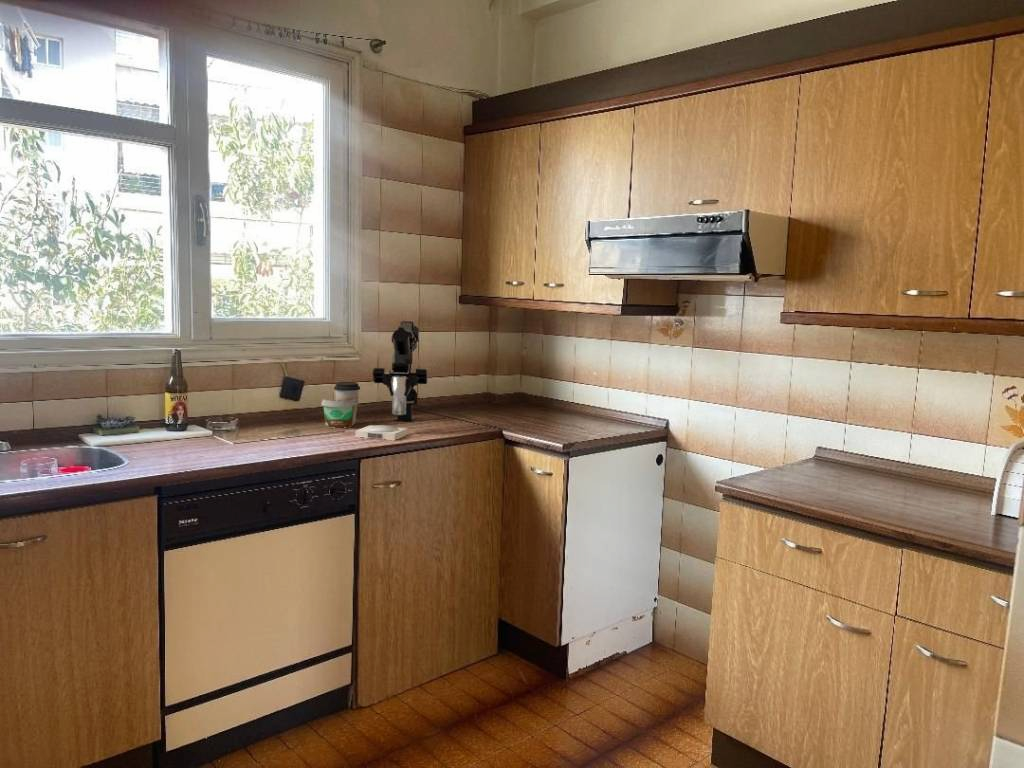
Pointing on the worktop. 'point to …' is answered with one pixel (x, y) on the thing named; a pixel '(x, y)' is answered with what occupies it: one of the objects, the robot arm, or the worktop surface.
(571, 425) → the worktop surface
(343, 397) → the coffee cup
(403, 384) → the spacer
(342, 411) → the food container
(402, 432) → the scale
